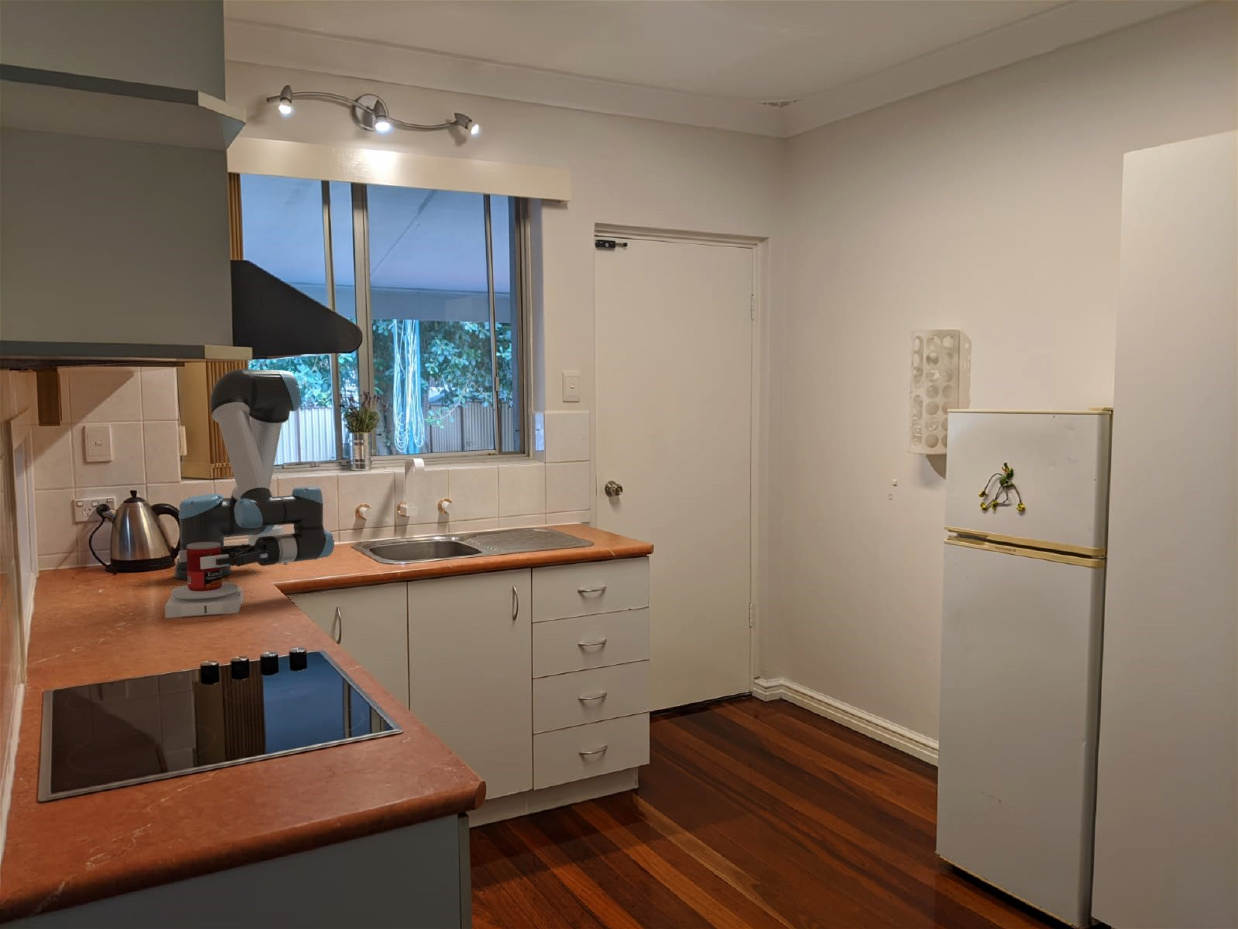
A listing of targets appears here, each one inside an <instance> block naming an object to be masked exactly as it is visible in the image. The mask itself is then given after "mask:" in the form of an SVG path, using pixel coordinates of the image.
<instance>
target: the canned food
mask: <svg viewBox="0 0 1238 929" xmlns="http://www.w3.org/2000/svg"><path fill="white" fill-rule="evenodd" d="M186 549H187V578H188V580H187V585H188V588H189V590H191V591H211V590H216V589H219V588H221V586H222V582H223V577H222V567H215V568H207V569H201V566H200V558H201V557H209V556H218V555H221V543H218V542H198V543H191V544H188V545H187V547H186Z"/></svg>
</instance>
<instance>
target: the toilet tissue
mask: <svg viewBox="0 0 1238 929" xmlns="http://www.w3.org/2000/svg"><path fill="white" fill-rule="evenodd" d="M281 534H285V528H284V525H275V526H274V528H273V529H272V530H271V531H269V532H267V533H262V534H258V535H247V544H250V546H251V545H255V542H256V540H257V539H258V538H259V537H264V536H274V535H281Z"/></svg>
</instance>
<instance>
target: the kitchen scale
mask: <svg viewBox="0 0 1238 929" xmlns="http://www.w3.org/2000/svg"><path fill="white" fill-rule="evenodd" d="M170 594H171V596H170V597H169V598H168V600H167V601H166V603H165V605H164V615H165V619H171V618H172V619H173V618H185V617H186V618H187V617H189V618H190V617H202V616H215V615H229V614H239V613H240V610H241V606H242V603H243V599H244V597H243V596H244V595H243V587H239V585H238V584H237V583H233V582H223V581H222V586H221V588H219V589H216V590H211V591H191V590H189V588H188V584H186V585H182V586H177V587H175V588H172V589H171V592H170Z"/></svg>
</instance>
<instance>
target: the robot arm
mask: <svg viewBox="0 0 1238 929" xmlns="http://www.w3.org/2000/svg"><path fill="white" fill-rule="evenodd" d="M298 382H299V381H298V379H297V377H296V376H295V374H294V373H293V372H291V371H289V370H283V369H282V370H280V369H247V368H238V369H237V368H236V369H233V370H230V371H227V372H226V373H224V374H223V375H222V376H221V377H219V379H218V380H217V381H216V383H215V384H214V386H213V388H212V391H211V393H210V398H209V409H210V410H209V411H210V413H211V417H212V420H213V421H214V422H216V423H218V425H219V430H220V432H221V436H222V439H223V443H224V447H225V449H226V454H227V456H228V460H229V461H228V462H229V463H230V466H231V471H232V474H233V476H234V481H235V483H236V486H235V487H234V488H233V489H232V491H231V496H230V497H225V498H224V496H223V495H222V494H221V493H210V494H201V495H197V496H192V497H188V498H185V499H183V500H182V501H180V503H179V510H178V520H179V544H180V545H179V546H180V548H179V549H180V550H178V556H177V561H176V564H175V566H174V578H175V579H179V580H186V581H188V578H187V549H186V547H187V545H188V544H191V543H198V542H218V543H221V555H218V556H209V557H201V558H200V566H201V569H207V568H215V567H222V578H223V577H227V576H229V575H231V574H232V567H234V566H236V567H242V566H245V565H250V564H253V563H254V564H255V563H258V565H260V566H261V567H265V566H272V565H273V566H274V565H277V564H278V565H279V564H283V565H284V566H287V565H288V563H294V562H295V563H296V562H302V561H313V560H318V559H323V558H328V557H329V556H331V555H332V554H333V552H334V549H335V540H334V536H333V534H332V532H331V531H329V530H328V529H325V527H324V500H323V495H322V494H323V493H322V489H321V488H320V487H318V486H301V487H294V488H293V489H292V491H291V495H283V496H282V495H281V496H274V493H273V492H272V491H271V489H270V488H271V483H272V478H273V472H274V467H275V461H276V457H277V453H278V452H277V451H278V446H279V442H280V435H281V430H282V425H283V424H284V423H286V422H288V421H289V419H290V414H291V412H292V413H293V412H295V411H297V410H298V409H299V408H300V406H301V401H302V400H301V398H302V396H301V389H300V385H299V383H298ZM249 419H250V420H249ZM275 525H277V526H284V525H285V526H286V525H293V531H294V532H293V533H284V534H281V535H274V536H264V537H259V538H258V539H257V540H256V542H255V545H251V546H250V544H248V543H246V544H245V543H244V544H243V543H242V544H237V545H233V544H232V545H225V540H224V539H225V538H233V537H240V536H241V537H242V536H243V537H244V536H248V535H258V534H262V533H267V532H269V531H271V530H272V529H273V528H274V526H275Z"/></svg>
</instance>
